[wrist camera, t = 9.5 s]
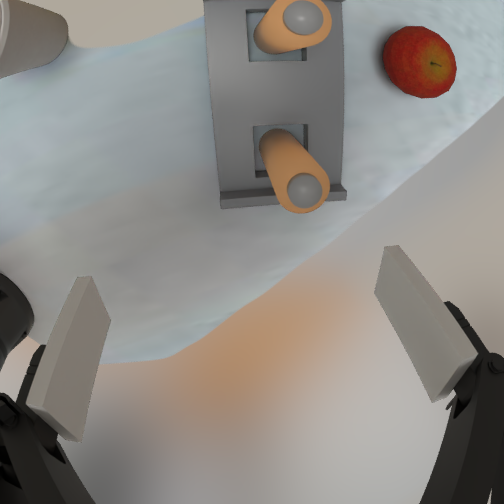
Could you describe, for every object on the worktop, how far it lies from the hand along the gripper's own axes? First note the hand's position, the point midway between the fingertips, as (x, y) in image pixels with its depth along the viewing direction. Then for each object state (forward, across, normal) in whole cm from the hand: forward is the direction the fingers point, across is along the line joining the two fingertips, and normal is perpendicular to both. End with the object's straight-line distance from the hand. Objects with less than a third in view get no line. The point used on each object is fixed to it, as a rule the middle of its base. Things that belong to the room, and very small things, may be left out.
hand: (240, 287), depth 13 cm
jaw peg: (+22, +6, 0) cm, 22 cm away
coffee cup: (+23, -19, +17) cm, 34 cm away
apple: (+22, +20, +11) cm, 31 cm away
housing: (+22, +6, +6) cm, 23 cm away
